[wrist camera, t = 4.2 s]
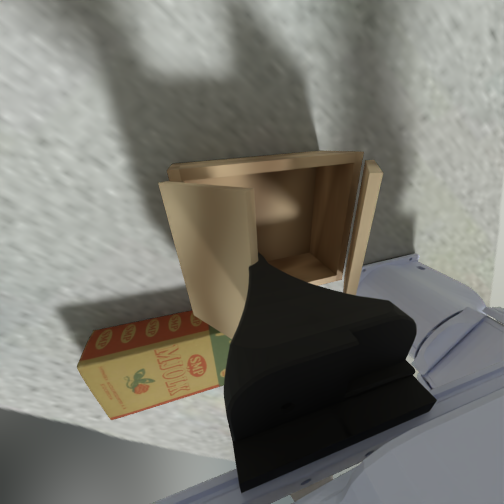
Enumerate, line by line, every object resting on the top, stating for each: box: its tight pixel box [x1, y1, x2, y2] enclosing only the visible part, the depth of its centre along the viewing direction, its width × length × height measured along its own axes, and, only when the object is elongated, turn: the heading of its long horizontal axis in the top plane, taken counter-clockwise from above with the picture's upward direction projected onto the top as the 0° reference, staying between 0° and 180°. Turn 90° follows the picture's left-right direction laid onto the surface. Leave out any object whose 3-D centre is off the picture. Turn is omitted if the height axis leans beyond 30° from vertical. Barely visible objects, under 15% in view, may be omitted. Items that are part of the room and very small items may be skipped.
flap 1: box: [158, 181, 258, 339], centre depth 11 cm, size 6×9×1 cm
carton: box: [77, 310, 232, 420], centre depth 21 cm, size 8×16×4 cm, turn 91°
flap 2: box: [343, 160, 383, 295], centre depth 13 cm, size 6×9×1 cm
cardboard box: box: [167, 151, 364, 286], centre depth 16 cm, size 12×10×5 cm
